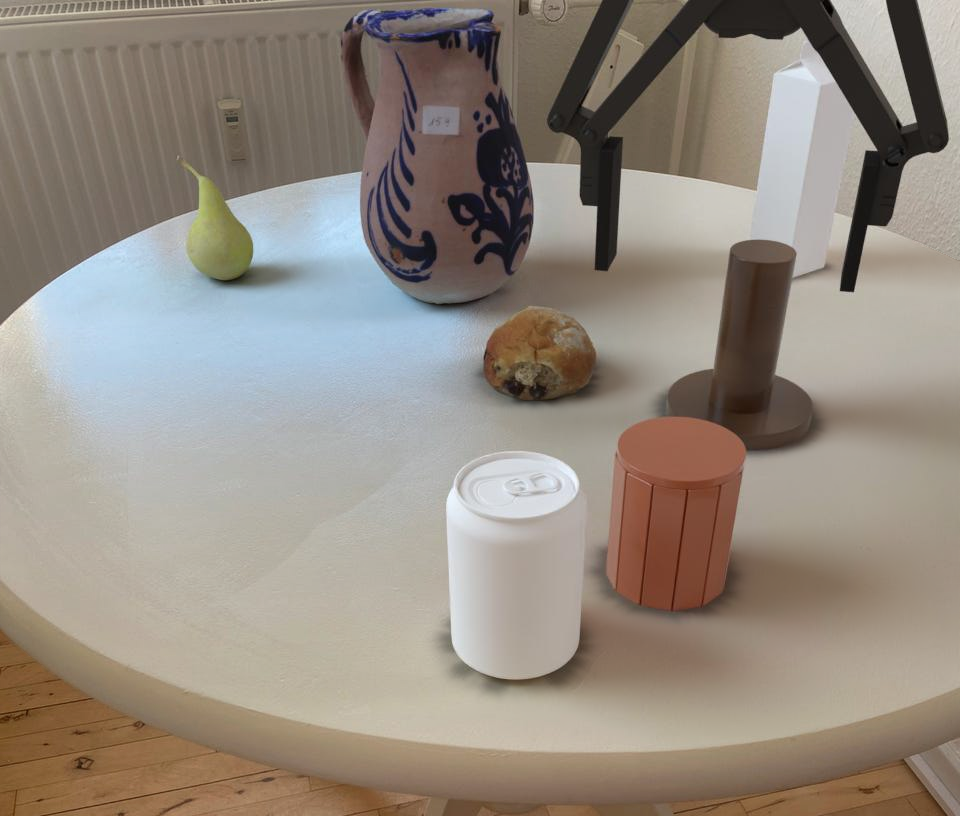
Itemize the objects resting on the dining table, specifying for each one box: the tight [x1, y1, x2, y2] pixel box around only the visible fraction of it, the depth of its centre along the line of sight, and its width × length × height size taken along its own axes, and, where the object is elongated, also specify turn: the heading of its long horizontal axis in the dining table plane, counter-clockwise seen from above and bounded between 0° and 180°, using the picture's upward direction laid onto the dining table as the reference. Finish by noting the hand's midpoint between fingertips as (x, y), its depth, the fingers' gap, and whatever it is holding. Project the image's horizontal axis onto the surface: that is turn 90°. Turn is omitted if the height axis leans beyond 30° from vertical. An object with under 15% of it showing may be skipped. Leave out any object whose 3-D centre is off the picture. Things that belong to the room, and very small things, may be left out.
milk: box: [748, 39, 856, 279], centre depth 108 cm, size 6×6×22 cm
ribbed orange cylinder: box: [605, 416, 747, 612], centre depth 70 cm, size 8×8×10 cm
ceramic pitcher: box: [340, 6, 535, 305], centre depth 104 cm, size 18×21×25 cm
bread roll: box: [483, 305, 597, 401], centre depth 94 cm, size 10×10×8 cm
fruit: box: [176, 155, 254, 281], centre depth 111 cm, size 7×8×12 cm
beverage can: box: [445, 450, 588, 680], centre depth 64 cm, size 8×8×12 cm
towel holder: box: [665, 239, 814, 452], centre depth 85 cm, size 12×12×14 cm
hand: (723, 272), depth 60 cm, fingers open, 13 cm apart
